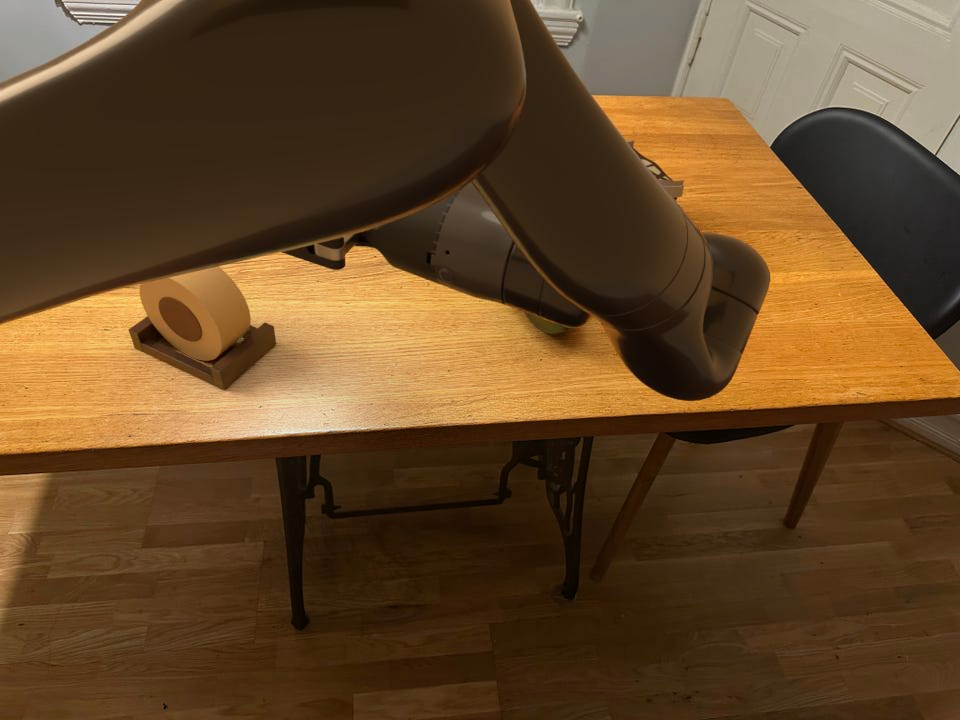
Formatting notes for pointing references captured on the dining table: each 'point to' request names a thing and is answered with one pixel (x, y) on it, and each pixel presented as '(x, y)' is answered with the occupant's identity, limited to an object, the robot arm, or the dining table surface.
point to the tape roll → (197, 311)
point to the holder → (218, 374)
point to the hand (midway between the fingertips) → (275, 170)
